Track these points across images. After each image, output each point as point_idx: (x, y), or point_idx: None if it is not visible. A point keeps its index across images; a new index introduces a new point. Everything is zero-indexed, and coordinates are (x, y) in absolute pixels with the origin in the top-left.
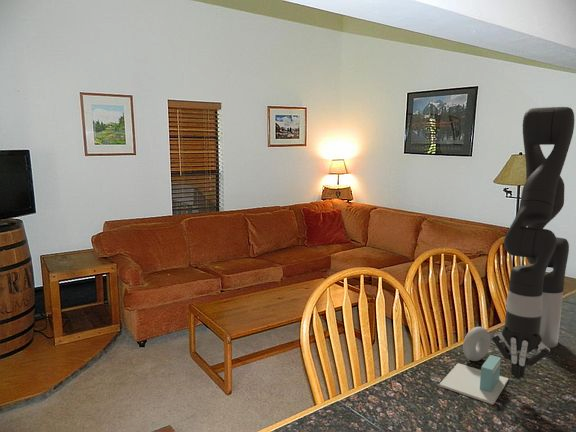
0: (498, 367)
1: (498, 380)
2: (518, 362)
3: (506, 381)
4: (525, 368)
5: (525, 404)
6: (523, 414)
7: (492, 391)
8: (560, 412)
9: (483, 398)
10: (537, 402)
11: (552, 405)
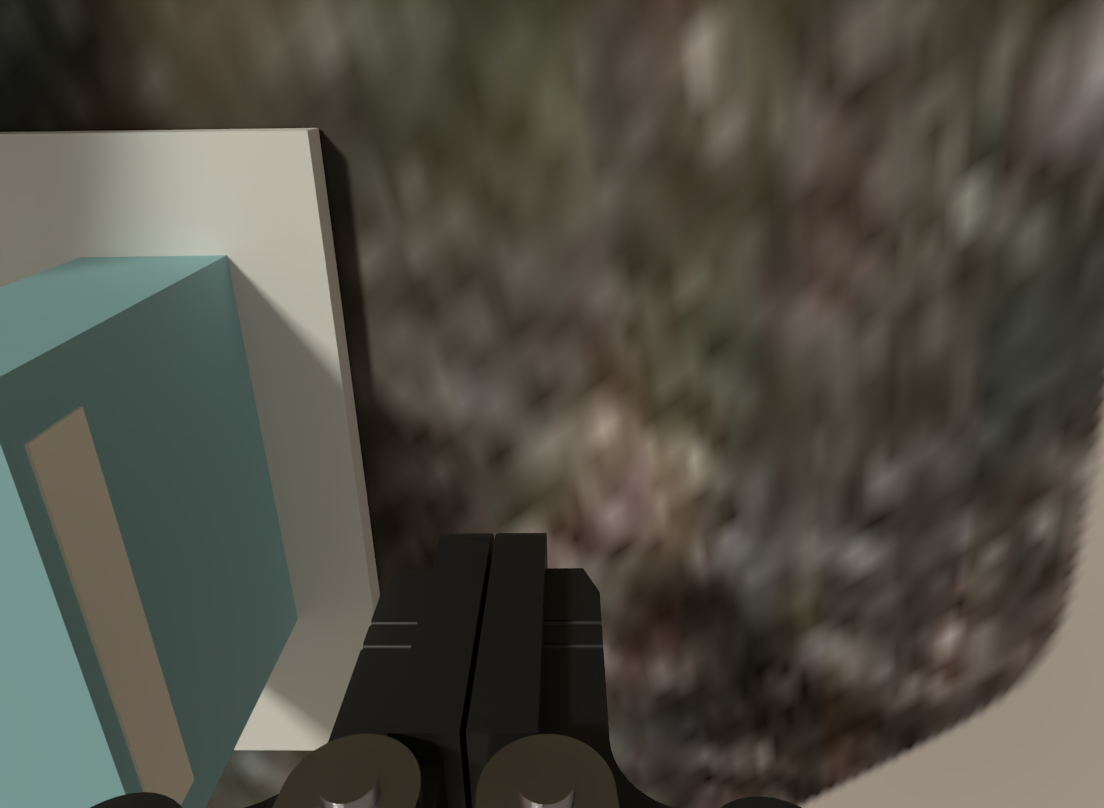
0: (126, 465)
1: (234, 296)
2: (446, 787)
3: (323, 247)
4: (604, 691)
5: (644, 562)
6: (659, 719)
7: (300, 584)
8: (983, 500)
9: (295, 744)
10: (750, 452)
11: (907, 413)
